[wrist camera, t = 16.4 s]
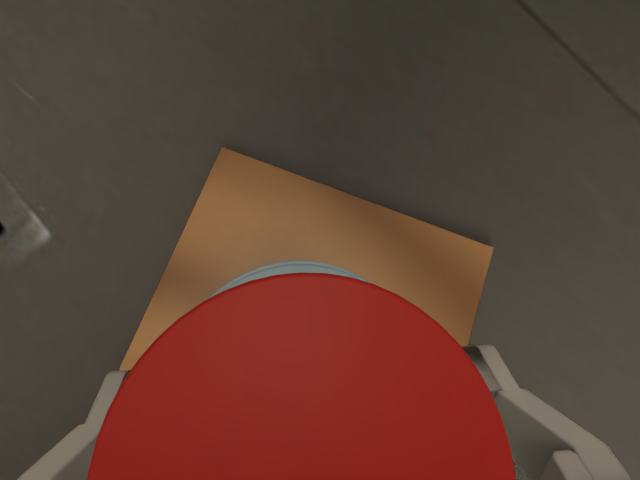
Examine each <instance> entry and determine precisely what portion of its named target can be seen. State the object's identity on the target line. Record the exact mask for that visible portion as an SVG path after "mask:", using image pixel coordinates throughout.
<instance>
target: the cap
mask: <svg viewBox="0 0 640 480" xmlns="http://www.w3.org/2000/svg"><path fill="white" fill-rule="evenodd" d="M87 480H516V478H515V469H514V464H513V459H512V454H511V449H510V443H509V440H508V437H507V434H506V430H505V427H504V424H503V421H502V418H501V415H500V412H499V410H498V408H497V406H496V403H495V401H494V399H493V397H492V394H491V392H490V390H489V388H488V386H487V384H486V383H485V381H484V379H483V378H482V376H481V374H480V373H479V371H478V369H477V367H476V366H475V364H474V363H473V362H472V360H471V359H470V358H469V356H468V355H467V354H466V352H465V351H464V350H463V349H462V347H461V346H460V345H459V343H458V342H457V341H456V340H455V339H454V338H453V337H452V336H451V335H450V334H449V333H448V332H447V331H446V330H445V329H444V328H443V327H442V326H441V325H440V324H439V323H438V322H436V321H435V320H434V319H433V318H431V317H430V316H429V315H428V314H426V313H425V312H424V311H423V310H421V309H420V308H419V307H417V306H415V305H414V304H412V303H410V302H409V301H407V300H406V299H404V298H402V297H401V296H399V295H397V294H395V293H393V292H390V291H388V290H386V289H384V288H382V287H379V286H377V285H375V284H372V283H368V282H365V281H362V280H358V279H355V278H351V277H346V276H340V275H334V274H328V273H303V272H300V273H290V274H280V275H273V276H269V277H264V278H260V279H256V280H251V281H248V282H246V283H243V284H240V285H237V286H235V287H232V288H229V289H227V290H224V291H223V292H221V293H219V294H217V295H215V296H213V297H211V298H209V299H207V300H205V301H203V302H202V303H200V304H199V305H197V306H196V307H194V308H193V309H192V310H190V311H189V312H187V313H186V314H184V315H183V316H181V317H180V318H179V319H178V320H176V321H175V322H174V323H173V324H172V325H171V326H170V327H169V328H167V329H166V330H165V331H164V332H163V333H162V334H161V335H160V336H159V337H158V338H157V339H156V340H155V341H154V342H153V343H152V344H151V345H150V347H149V348H148V349H147V350H146V351H145V352H144V353H143V355H142V356H141V357H140V358H139V359H138V361H137V362H136V364H135V365H134V366H133V368H132V369H131V371H130V372H129V374H128V375H127V377H126V378H125V380H124V381H123V382H122V384H121V386H120V388H119V390H118V392H117V394H116V396H115V397H114V399H113V401H112V403H111V405H110V407H109V409H108V411H107V413H106V416H105V419H104V421H103V424H102V426H101V429H100V432H99V434H98V437H97V439H96V443H95V447H94V451H93V455H92V459H91V463H90V467H89V471H88V478H87Z"/></svg>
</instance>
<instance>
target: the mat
mask: <svg viewBox="0 0 640 480" xmlns="http://www.w3.org/2000/svg"><path fill="white" fill-rule="evenodd" d="M493 249H494V248H493V247H490V246H488V245H485V244H482V243H480V242H477V241H474V240H472V239H469V238H466V237H463V236H461V235H458V234H455V233H453V232H450V231H447V230H445V229H442V228H439V227H437V226H434V225H431V224H429V223H426V222H423V221H420V220H418V219H415V218H412V217H410V216H407V215H404V214H402V213H399V212H396V211H394V210H391V209H388V208H386V207H383V206H380V205H377V204H375V203H372V202H369V201H367V200H364V199H361V198H359V197H356V196H353V195H351V194H348V193H345V192H342V191H340V190H337V189H334V188H332V187H329V186H326V185H324V184H321V183H318V182H316V181H313V180H310V179H308V178H305V177H302V176H299V175H297V174H294V173H291V172H289V171H286V170H283V169H281V168H278V167H275V166H273V165H270V164H267V163H264V162H262V161H259V160H256V159H254V158H251V157H248V156H246V155H243V154H240V153H238V152H235V151H232V150H230V149H227V148H224V147H222V148H221V150H220V152H219V155H218V157H217V159H216V161H215V163H214V165H213V168H212V170H211V172H210V174H209V176H208V178H207V181H206V183H205V185H204V187H203V189H202V191H201V193H200V196H199V198H198V200H197V202H196V204H195V206H194V209H193V211H192V213H191V215H190V217H189V219H188V222H187V224H186V226H185V228H184V230H183V232H182V234H181V237H180V239H179V241H178V243H177V245H176V247H175V250H174V252H173V254H172V256H171V258H170V260H169V262H168V265H167V267H166V269H165V271H164V273H163V275H162V278H161V280H160V282H159V284H158V286H157V288H156V291H155V293H154V295H153V297H152V299H151V301H150V303H149V306H148V308H147V310H146V312H145V314H144V316H143V319H142V321H141V323H140V325H139V327H138V329H137V331H136V334H135V336H134V338H133V340H132V342H131V344H130V347H129V349H128V351H127V353H126V355H125V357H124V360H123V362H122V364H121V366H120V368H119V370H118V371H123V370H131V369H132V368H133V366H134V365H135V364H136V362H137V361H138V359H139V358H140V357H141V356H142V355H143V353H144V352H145V351H146V350H147V349H148V348H149V347H150V345H151V344H152V343H153V342H154V341H155V340H156V339H157V338H158V337H159V336H160V335H161V334H162V333H163V332H164V331H165V330H166V329H167V328H169V327H170V326H171V325H172V324H173V323H174V322H175V321H176V320H178V319H179V318H180V317H181V316H183V315H184V314H186V313H187V312H189V311H190V310H192V309H193V308H194V307H196V306H197V305H199V304H200V303H202V302H203V301H205V300H207V299H209V298H210V297H211V296H212V295H213V294H214V293H215V292H216V291H217V290H219V289H220V288H221V287H223V286H224V285H225V284H227V283H228V282H230V281H231V280H233V279H234V278H236V277H238V276H240V275H242V274H244V273H246V272H248V271H250V270H253V269H256V268H258V267H261V266H264V265H268V264H272V263H277V262H283V261H293V260H302V261H316V262H322V263H328V264H331V265H334V266H338V267H341V268H344V269H346V270H348V271H351V272H353V273H355V274H357V275H359V276H361V277H362V278H364V279H365V280H367V281H369V282H370V283H372V284H375V285H377V286H379V287H382V288H384V289H386V290H388V291H390V292H393V293H395V294H397V295H399V296H401V297H402V298H404V299H406V300H407V301H409V302H410V303H412V304H414V305H415V306H417V307H419V308H420V309H421V310H423V311H424V312H425V313H426V314H428V315H429V316H430V317H431V318H433V319H434V320H435V321H436V322H438V323H439V324H440V325H441V326H442V327H443V328H444V329H445V330H446V331H447V332H448V333H449V334H450V335H451V336H452V337H453V338H454V339H455V340H456V341H457V342H458V343H459V345H460V346H467V345H468V341H469V337H470V334H471V330H472V326H473V323H474V319H475V315H476V312H477V308H478V304H479V301H480V297H481V293H482V290H483V286H484V282H485V279H486V275H487V271H488V268H489V264H490V260H491V257H492V253H493Z"/></svg>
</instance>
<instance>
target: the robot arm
mask: <svg viewBox="0 0 640 480" xmlns="http://www.w3.org/2000/svg"><path fill="white" fill-rule="evenodd" d="M461 347H462V349H463V350H464V351H465V352H466V354H467V355H468V356H469V358H470V359H471V360H472V362H473V363H474V364H475V366H476V367H477V369H478V371H479V373H480V374H481V376H482V378H483V379H484V381H485V383H486V384H487V386H488V388H489V390H490V392H491V394H492V397H493V399H494V401H495V403H496V406H497V408H498V410H499V412H500V415H501V418H502V421H503V424H504V427H505V430H506V434H507V437H508V440H509V443H510V449H511V454H512V459H513V462H514V463H515V464H516V465H517V466H518V467H519V468H520V469H521V470H522V471H523V472H524V473H525V474H526V475H527V476H528V477H529V478H530V479H531V480H632V479H631V478H630V476H629V475H628V473H627V472H626V471H625V469H624V468H623V466H622V465H621V463H620V462H619V461H618V459H617V458H616V456H615V455H614V454H613V452H612V451H611V449H610V448H609V447H608V445H606V444H605V443H604V442H602V441H601V440H599V439H598V438H596V437H595V436H593V435H592V434H590V433H589V432H588V431H586V430H585V429H583V428H582V427H580V426H579V425H577V424H576V423H574V422H573V421H571V420H570V419H569V418H567V417H566V416H564V415H563V414H561V413H560V412H558V411H557V410H555V409H554V408H552V407H551V406H550V405H548V404H547V403H545V402H544V401H542V400H541V399H539V398H538V397H536V396H535V395H534V394H532V393H531V392H529V391H528V390H526V389H520V388H519V386H518V384H517V383H516V381H515V379H514V378H513V376H512V374H511V373H510V371H509V370H508V368H507V366H506V365H505V363H504V361H503V360H502V358H501V356H500V355H499V353H498V351H497V350H496V348H495V347H494V346H493V345H492V344H489V345H475V346H473V345H472V346H461ZM130 371H131V370H123V371H110V372H109V373H108V374H107V375H106V376H105V378H104V381H103V383H102V385H101V387H100V390H99V392H98V394H97V396H96V399H95V401H94V403H93V405H92V408H91V410H90V412H89V415H88V417H87V419H86V421H85V424H80V425H78V426H77V427H75V428H74V429H73V430H72V431H71V432H70V433H69V434H68V435H66V436H65V437H64V438H63V439H62V440H61V441H60V442H58V443H57V444H56V445H55V446H54V447H53V448H52V449H50V450H49V451H48V452H47V453H46V454H45V455H44V456H42V457H41V458H40V459H39V460H38V461H37V462H36V463H35V464H33V465H32V466H31V467H30V468H29V469H28V470H27V471H25V472H24V473H23V474H22V475H21V476H20V477H19V478H17V479H16V480H87V478H88V471H89V467H90V463H91V459H92V455H93V451H94V447H95V443H96V439H97V437H98V434H99V432H100V429H101V426H102V424H103V421H104V419H105V416H106V413H107V411H108V409H109V407H110V405H111V403H112V401H113V399H114V397H115V396H116V394H117V392H118V390H119V388H120V386H121V384H122V382H123V381H124V380H125V378H126V377H127V375H128V374H129V372H130Z"/></svg>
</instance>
